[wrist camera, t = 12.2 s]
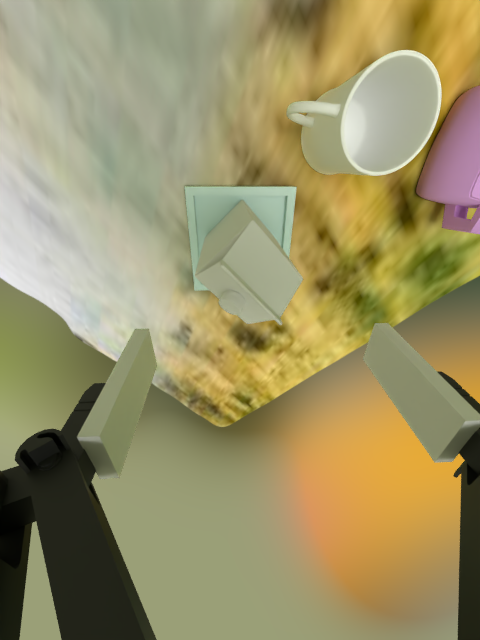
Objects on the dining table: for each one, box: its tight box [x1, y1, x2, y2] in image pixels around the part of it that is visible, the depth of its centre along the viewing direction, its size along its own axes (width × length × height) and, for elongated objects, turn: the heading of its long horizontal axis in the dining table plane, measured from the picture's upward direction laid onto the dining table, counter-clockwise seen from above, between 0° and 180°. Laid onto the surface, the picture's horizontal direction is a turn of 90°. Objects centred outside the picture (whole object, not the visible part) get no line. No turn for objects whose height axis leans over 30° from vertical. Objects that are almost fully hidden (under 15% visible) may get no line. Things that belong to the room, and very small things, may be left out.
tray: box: [185, 186, 296, 290], centre depth 36 cm, size 14×14×2 cm
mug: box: [287, 50, 441, 176], centre depth 25 cm, size 12×8×12 cm
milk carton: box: [195, 199, 303, 325], centre depth 28 cm, size 7×7×19 cm
